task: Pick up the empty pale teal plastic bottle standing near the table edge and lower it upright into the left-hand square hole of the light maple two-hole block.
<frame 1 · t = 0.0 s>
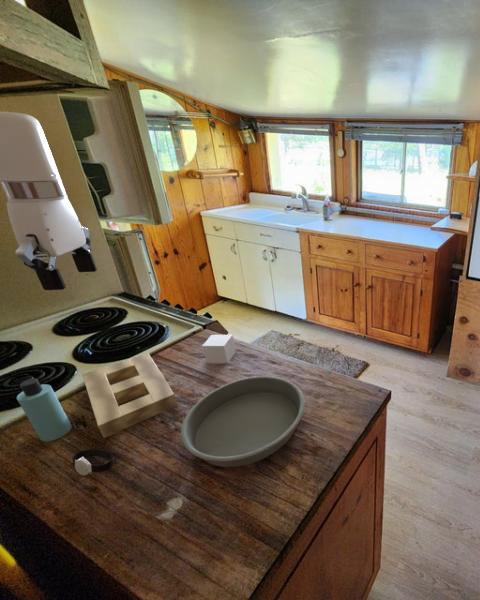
hand: (72, 279, 65), 32 cm above the counter, tool pointing down, fingers open, 9 cm apart
watch: (96, 466, 63), on the counter
hole block: (131, 395, 80), on the counter
white cube: (221, 357, 96), on the counter
cake pan: (249, 426, 73), on the counter
bottle: (56, 432, 69), on the counter
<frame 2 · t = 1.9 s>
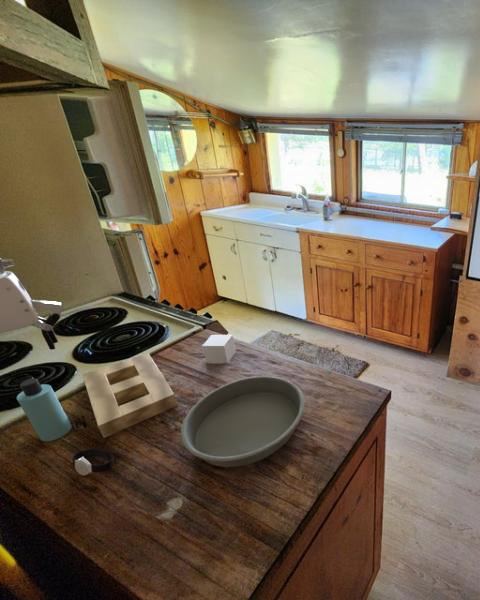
hand: (17, 356, 61), 19 cm above the counter, tool pointing down, fingers open, 9 cm apart
nothing on the counter moved.
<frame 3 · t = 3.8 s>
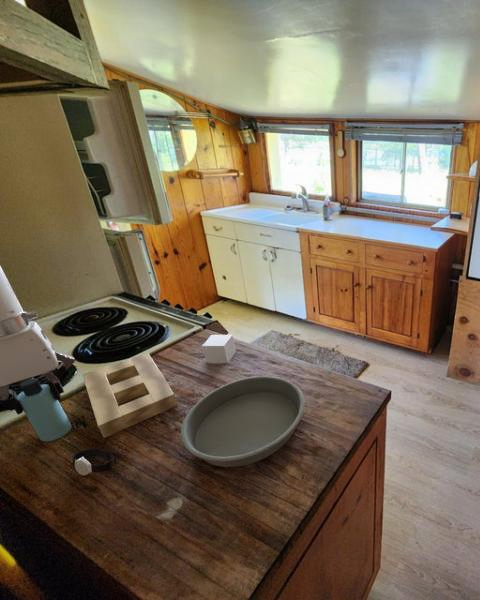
hand: (39, 402, 66), 8 cm above the counter, tool pointing down, fingers closed on bottle, 4 cm apart
bottle: (56, 432, 69), on the counter, touching gripper
everything else where it was.
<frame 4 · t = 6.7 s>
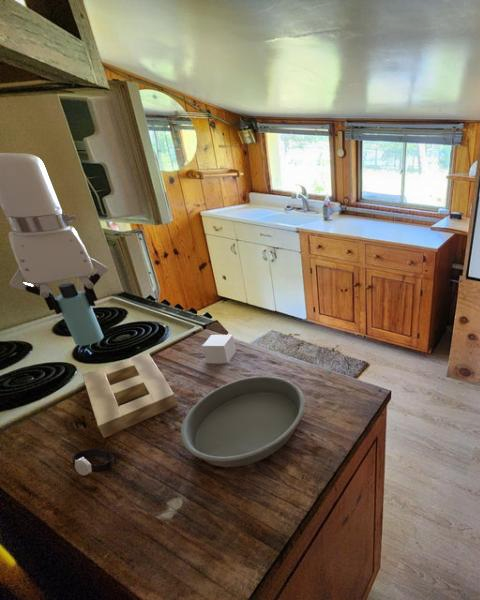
hand: (75, 307, 70), 24 cm above the counter, tool pointing down, fingers closed on bottle, 4 cm apart
bottle: (89, 339, 73), point 16 cm above the counter, touching gripper
everything else where it was.
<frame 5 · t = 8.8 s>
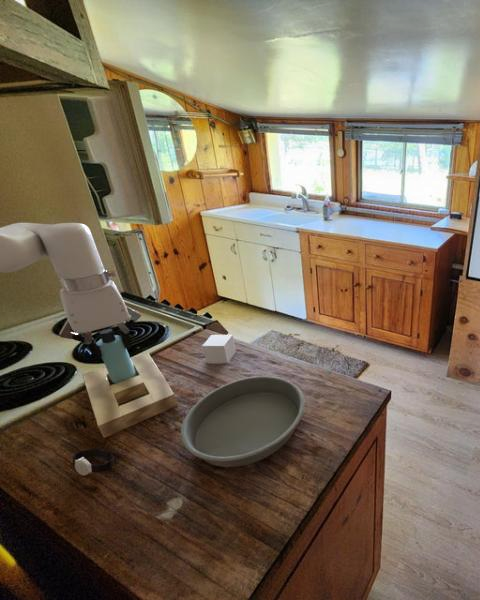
hand: (113, 349, 79), 11 cm above the counter, tool pointing down, fingers closed on bottle, 4 cm apart
bottle: (124, 377, 82), point 3 cm above the counter, touching gripper
everything else where it was.
when the fingers open (8 cm above the counter, at t = 10.0 s): bottle stays where it is, resting in hole block.
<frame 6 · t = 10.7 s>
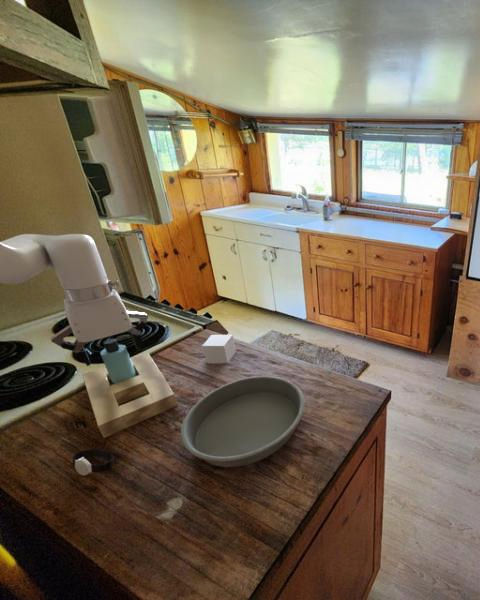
hand: (114, 354, 79), 10 cm above the counter, tool pointing down, fingers open, 9 cm apart
bottle: (127, 385, 83), resting in hole block
everything else where it was.
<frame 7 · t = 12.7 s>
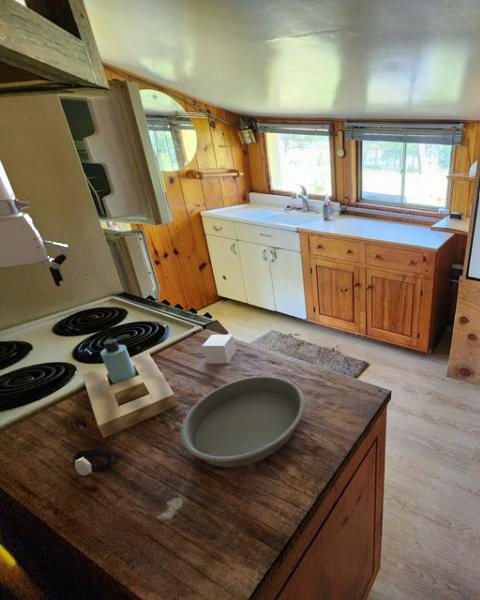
hand: (27, 289, 70), 27 cm above the counter, tool pointing down, fingers open, 9 cm apart
nothing on the counter moved.
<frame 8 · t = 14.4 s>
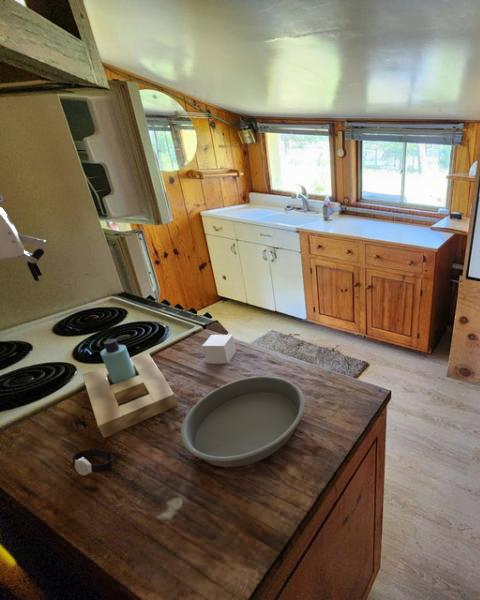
hand: (5, 284, 69), 28 cm above the counter, tool pointing down, fingers open, 9 cm apart
nothing on the counter moved.
at the end: bottle 0.1 cm from the target spot in the hole block, point 0.0 cm above the hole block's base; bottle tilted 0°; the gripper is holding nothing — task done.
